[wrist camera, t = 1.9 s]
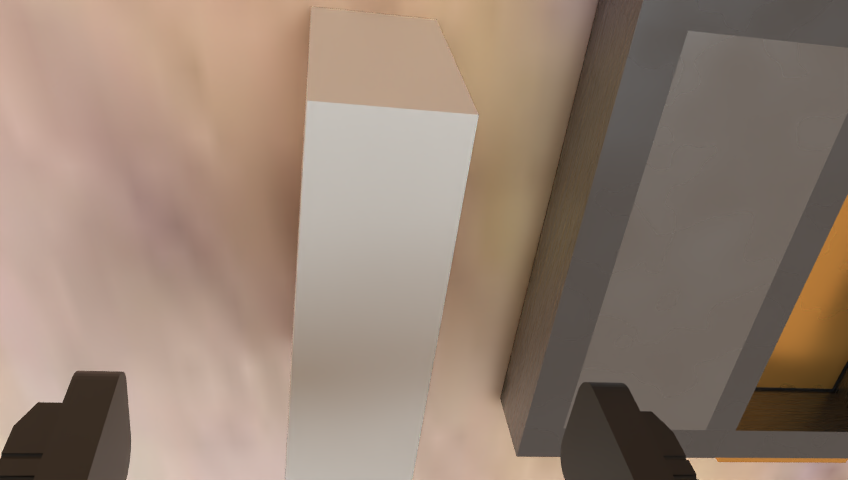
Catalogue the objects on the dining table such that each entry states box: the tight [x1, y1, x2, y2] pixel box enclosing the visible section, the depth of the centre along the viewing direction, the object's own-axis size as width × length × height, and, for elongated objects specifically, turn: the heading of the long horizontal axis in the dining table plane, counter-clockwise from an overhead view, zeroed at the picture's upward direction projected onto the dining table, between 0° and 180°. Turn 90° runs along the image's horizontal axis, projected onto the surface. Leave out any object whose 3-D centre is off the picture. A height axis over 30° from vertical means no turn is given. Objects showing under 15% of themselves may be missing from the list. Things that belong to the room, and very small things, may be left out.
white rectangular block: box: [285, 6, 479, 480], centre depth 18 cm, size 3×10×6 cm, turn 173°
